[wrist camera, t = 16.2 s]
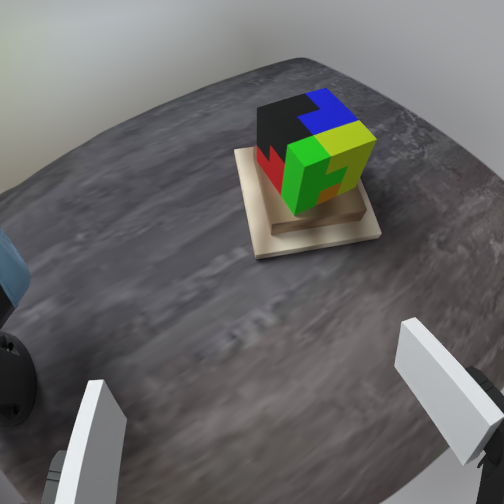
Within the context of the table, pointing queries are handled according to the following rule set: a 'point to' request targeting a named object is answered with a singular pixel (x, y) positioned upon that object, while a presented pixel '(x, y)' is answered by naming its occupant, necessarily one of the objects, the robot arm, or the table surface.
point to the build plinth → (295, 237)
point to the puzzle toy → (311, 148)
